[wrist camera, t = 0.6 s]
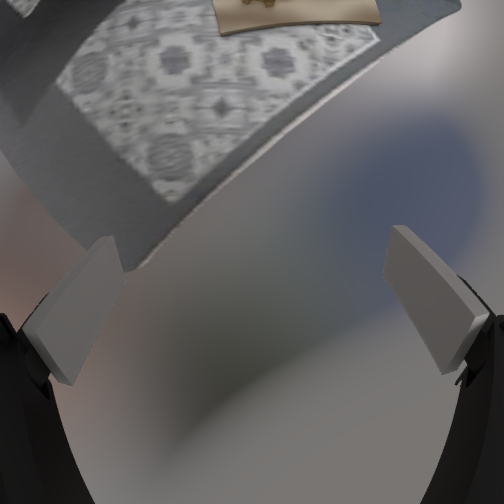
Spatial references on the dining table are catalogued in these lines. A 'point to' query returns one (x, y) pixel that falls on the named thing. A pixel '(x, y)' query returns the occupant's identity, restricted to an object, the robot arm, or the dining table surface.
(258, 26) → the gear board
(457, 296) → the robot arm
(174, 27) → the dining table surface
